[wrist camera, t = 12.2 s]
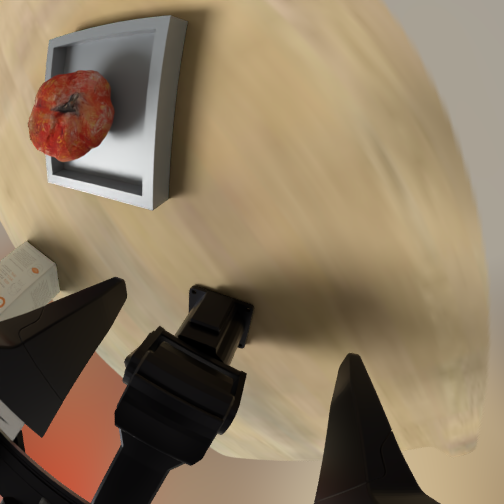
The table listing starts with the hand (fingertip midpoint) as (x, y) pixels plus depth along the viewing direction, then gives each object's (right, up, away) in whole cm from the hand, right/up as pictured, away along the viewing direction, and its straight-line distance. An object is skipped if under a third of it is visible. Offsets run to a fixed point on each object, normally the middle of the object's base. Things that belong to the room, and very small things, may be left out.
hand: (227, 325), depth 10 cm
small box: (-32, 0, +26) cm, 41 cm away
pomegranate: (-12, +15, +10) cm, 22 cm away
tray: (-12, +15, +10) cm, 22 cm away
